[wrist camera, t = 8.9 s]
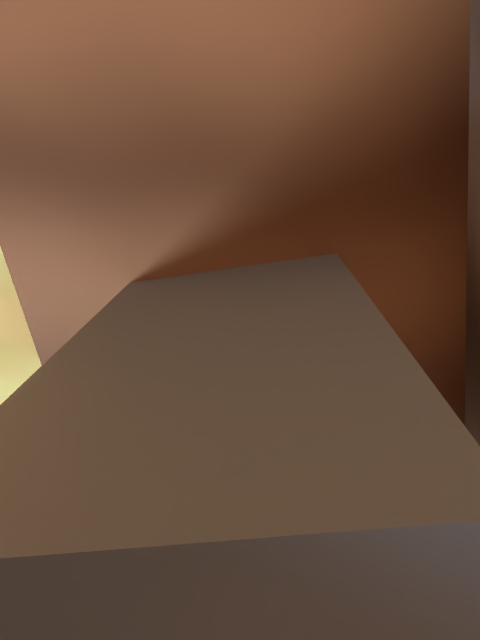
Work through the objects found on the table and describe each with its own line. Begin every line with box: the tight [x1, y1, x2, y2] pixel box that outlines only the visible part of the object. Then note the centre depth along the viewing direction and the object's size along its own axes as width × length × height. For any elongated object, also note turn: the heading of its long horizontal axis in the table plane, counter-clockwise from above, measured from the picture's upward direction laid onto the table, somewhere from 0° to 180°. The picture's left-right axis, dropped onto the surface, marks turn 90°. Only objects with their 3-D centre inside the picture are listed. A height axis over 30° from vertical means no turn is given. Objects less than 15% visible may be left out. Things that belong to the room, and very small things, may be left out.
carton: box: [0, 253, 480, 640], centre depth 8 cm, size 5×7×8 cm
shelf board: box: [0, 0, 480, 446], centre depth 11 cm, size 20×12×4 cm, turn 9°
